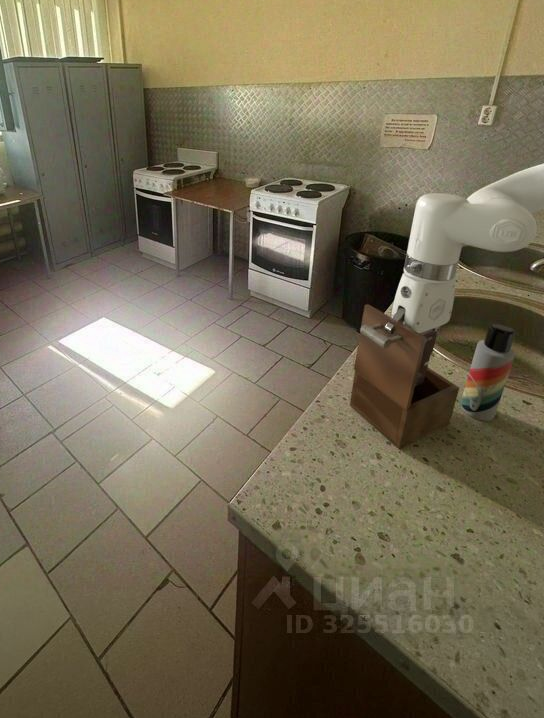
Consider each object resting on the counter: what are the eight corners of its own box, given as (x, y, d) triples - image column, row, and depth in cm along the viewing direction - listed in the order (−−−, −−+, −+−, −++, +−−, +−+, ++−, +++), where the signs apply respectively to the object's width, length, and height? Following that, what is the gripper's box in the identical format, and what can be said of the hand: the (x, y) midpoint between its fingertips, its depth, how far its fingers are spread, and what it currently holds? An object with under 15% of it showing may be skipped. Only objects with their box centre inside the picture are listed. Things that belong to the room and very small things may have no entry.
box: (405, 394, 73) (416, 340, 69) (384, 380, 77) (393, 327, 73) (426, 384, 76) (438, 331, 71) (404, 370, 79) (415, 319, 75)
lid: (367, 304, 73) (347, 309, 71) (426, 337, 63) (404, 345, 61) (356, 368, 78) (337, 375, 77) (409, 408, 68) (388, 418, 66)
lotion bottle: (456, 410, 80) (479, 326, 72) (464, 396, 83) (488, 314, 76) (490, 426, 76) (518, 339, 68) (497, 411, 79) (525, 326, 72)
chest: (397, 385, 87) (404, 351, 83) (449, 423, 77) (459, 387, 73) (349, 405, 82) (354, 370, 78) (398, 449, 71) (407, 411, 68)
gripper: (414, 285, 61) (395, 379, 67) (485, 264, 67) (461, 352, 74) (374, 267, 67) (360, 354, 74) (442, 250, 74) (424, 331, 80)
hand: (411, 352), depth 74 cm, fingers closed on box, 6 cm apart
